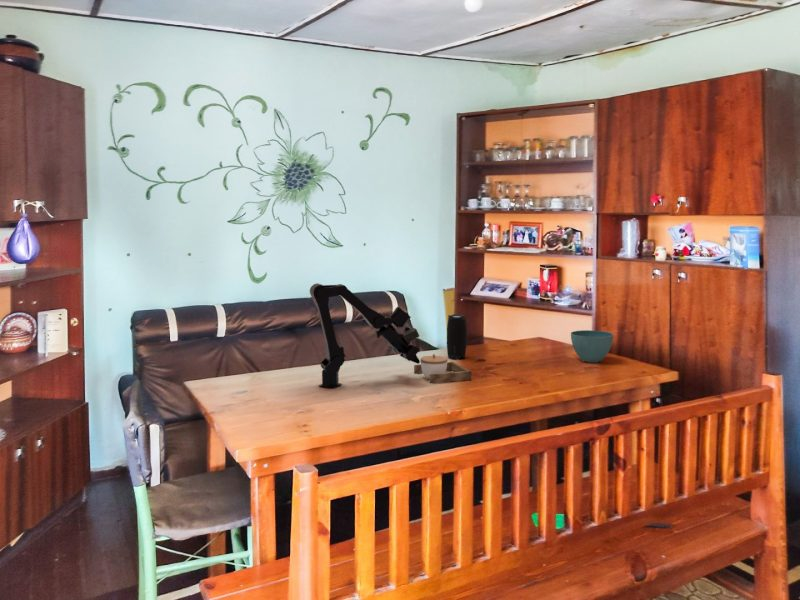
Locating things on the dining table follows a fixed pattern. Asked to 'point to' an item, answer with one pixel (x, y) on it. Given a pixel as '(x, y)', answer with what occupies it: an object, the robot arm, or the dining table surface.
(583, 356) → the teal round bowl
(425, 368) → the lidded jar
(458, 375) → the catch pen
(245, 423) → the dining table surface
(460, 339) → the portable speaker
